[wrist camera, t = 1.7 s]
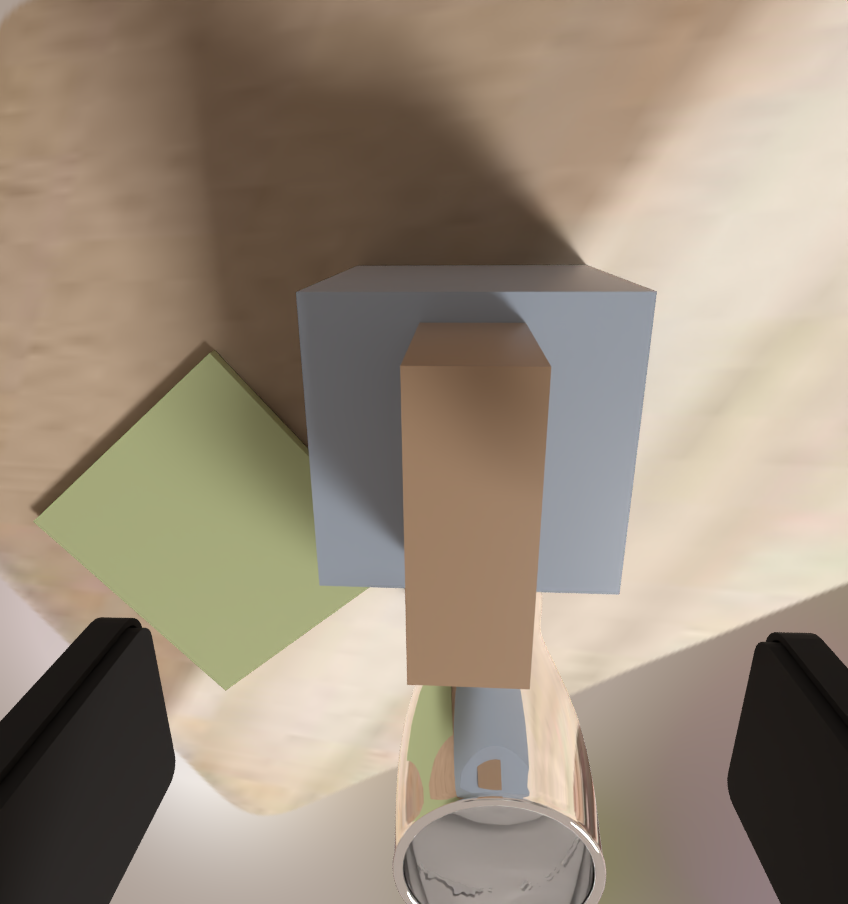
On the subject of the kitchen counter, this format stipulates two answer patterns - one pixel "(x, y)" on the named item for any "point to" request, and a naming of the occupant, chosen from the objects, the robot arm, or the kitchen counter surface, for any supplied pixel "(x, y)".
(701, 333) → the kitchen counter surface
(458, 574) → the cover
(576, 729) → the beer glass
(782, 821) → the robot arm
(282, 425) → the mat
